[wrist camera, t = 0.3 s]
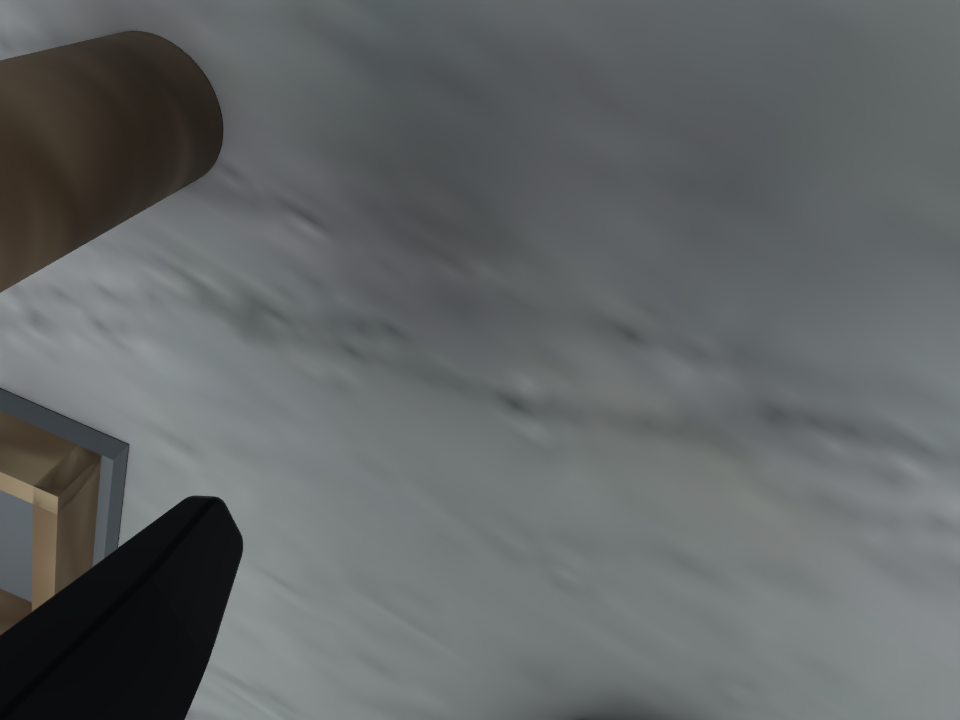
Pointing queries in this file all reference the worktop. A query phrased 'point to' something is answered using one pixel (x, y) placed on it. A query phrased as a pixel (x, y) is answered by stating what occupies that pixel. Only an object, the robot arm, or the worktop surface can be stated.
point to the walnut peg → (96, 141)
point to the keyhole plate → (53, 503)
